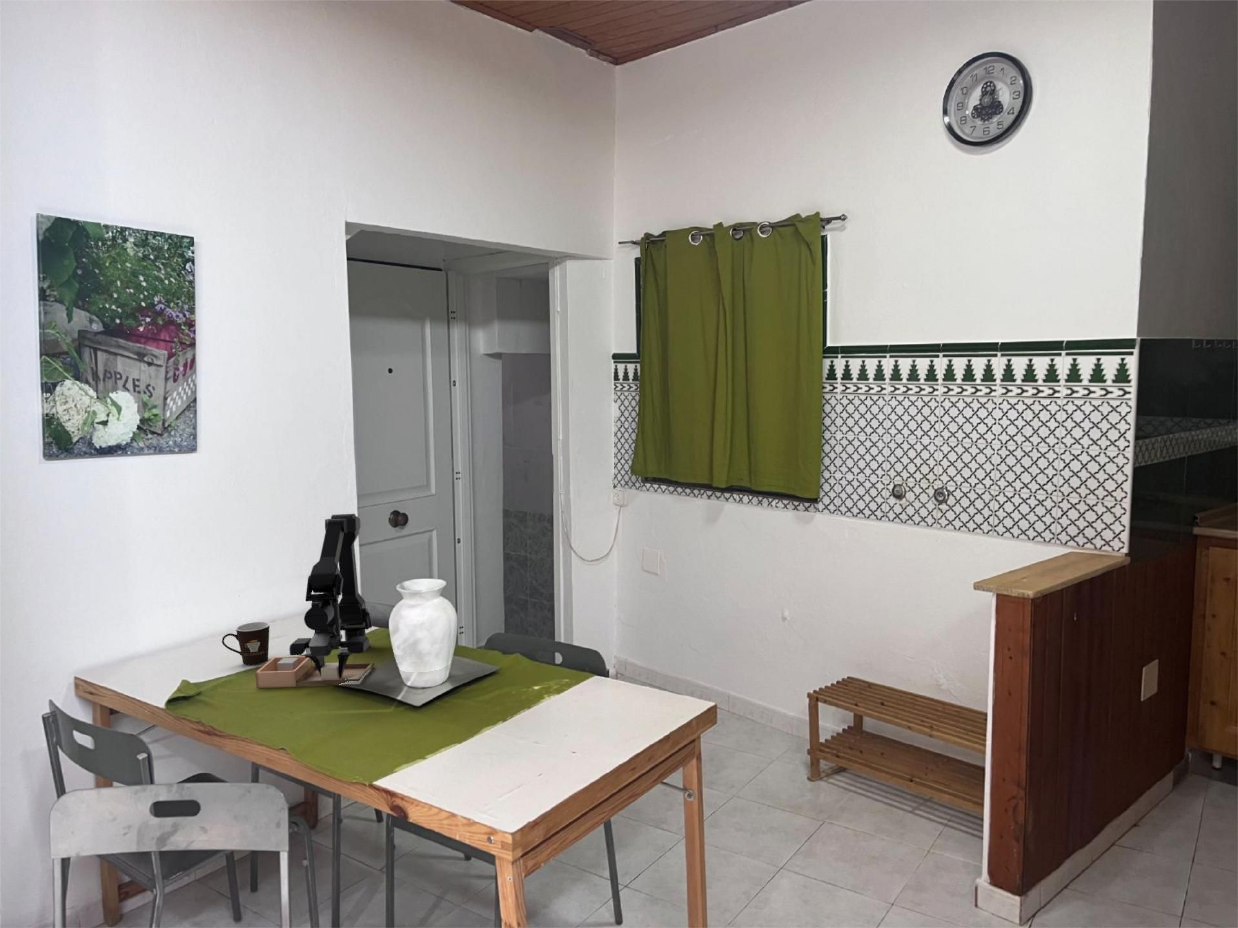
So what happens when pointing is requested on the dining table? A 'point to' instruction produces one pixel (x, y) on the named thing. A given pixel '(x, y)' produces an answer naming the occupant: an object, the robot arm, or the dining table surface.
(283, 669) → the pale grey matte cube
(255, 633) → the coffee mug
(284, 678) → the pink storage bin
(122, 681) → the dining table surface
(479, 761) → the dining table surface
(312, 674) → the parts tray
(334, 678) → the beige cube
